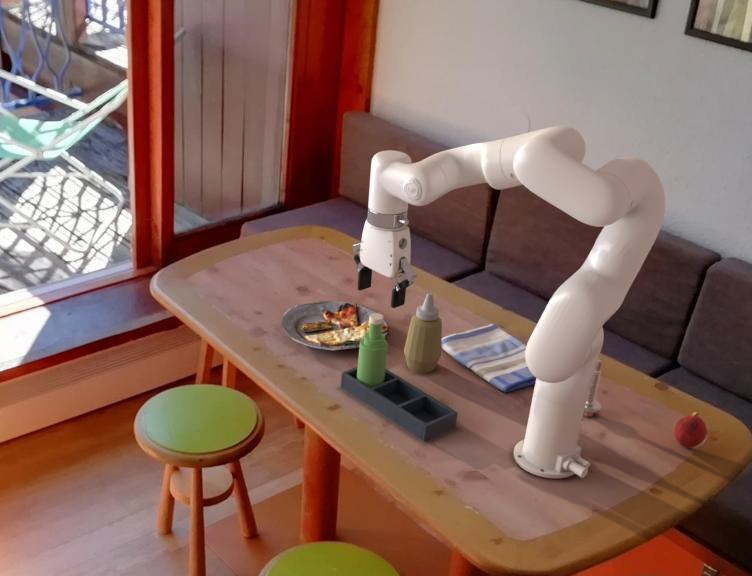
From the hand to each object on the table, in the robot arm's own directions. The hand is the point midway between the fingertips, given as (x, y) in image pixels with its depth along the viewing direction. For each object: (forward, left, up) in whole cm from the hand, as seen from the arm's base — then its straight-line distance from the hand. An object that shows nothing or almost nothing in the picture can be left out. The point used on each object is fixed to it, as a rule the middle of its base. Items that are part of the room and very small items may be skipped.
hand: (380, 297), depth 211 cm
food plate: (+24, -11, -23) cm, 35 cm away
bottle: (0, 0, -22) cm, 22 cm away
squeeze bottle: (+1, -16, -23) cm, 28 cm away
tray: (-8, 0, -22) cm, 24 cm away
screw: (-32, -31, -23) cm, 50 cm away
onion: (-51, -37, -23) cm, 67 cm away
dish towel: (-7, -32, -23) cm, 40 cm away
